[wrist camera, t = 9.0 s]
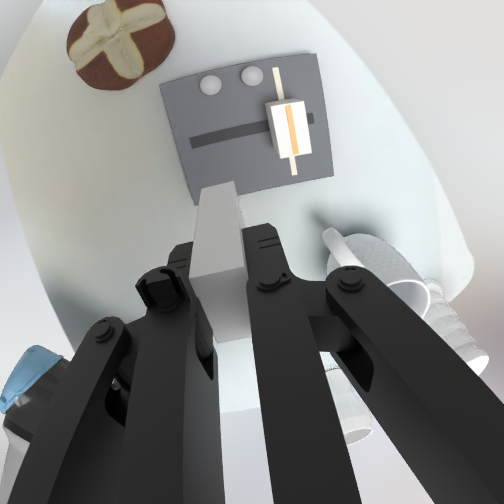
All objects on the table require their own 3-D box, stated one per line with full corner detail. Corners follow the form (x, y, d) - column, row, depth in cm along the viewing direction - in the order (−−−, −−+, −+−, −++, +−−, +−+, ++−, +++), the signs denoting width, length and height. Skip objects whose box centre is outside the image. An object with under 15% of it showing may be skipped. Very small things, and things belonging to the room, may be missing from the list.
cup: (360, 360, 56) (383, 421, 44) (348, 386, 62) (366, 441, 50) (311, 368, 56) (328, 434, 43) (304, 394, 61) (318, 452, 49)
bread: (68, 26, 21) (47, 22, 17) (160, -18, 20) (150, -31, 16) (93, 105, 27) (74, 111, 23) (186, 65, 26) (180, 63, 22)
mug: (280, 238, 39) (304, 309, 28) (346, 182, 35) (397, 235, 24) (341, 295, 45) (371, 360, 35) (396, 251, 42) (440, 309, 31)
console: (195, 199, 35) (193, 211, 32) (163, 84, 27) (156, 85, 24) (328, 170, 34) (338, 180, 31) (310, 54, 26) (320, 52, 24)
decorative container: (427, 268, 45) (484, 345, 30) (447, 296, 49) (494, 363, 34) (378, 312, 49) (420, 395, 34) (404, 333, 54) (441, 404, 39)
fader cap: (273, 148, 30) (280, 159, 26) (264, 102, 27) (270, 106, 24) (301, 143, 30) (312, 153, 26) (293, 98, 27) (304, 101, 24)
